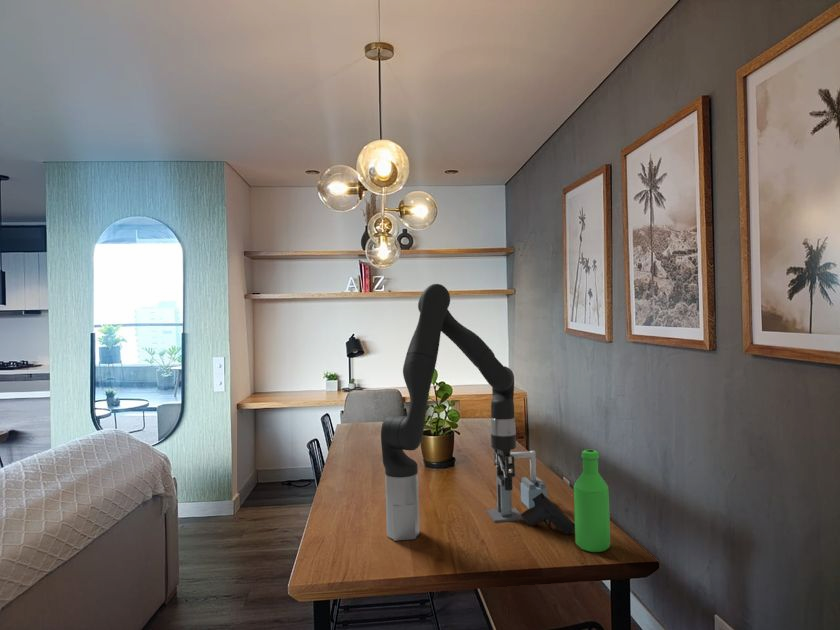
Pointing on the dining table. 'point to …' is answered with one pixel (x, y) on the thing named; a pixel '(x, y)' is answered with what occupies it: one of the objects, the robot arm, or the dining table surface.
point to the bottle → (591, 506)
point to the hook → (503, 498)
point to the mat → (498, 518)
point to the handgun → (548, 515)
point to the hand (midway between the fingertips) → (504, 485)
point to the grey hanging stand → (530, 481)
